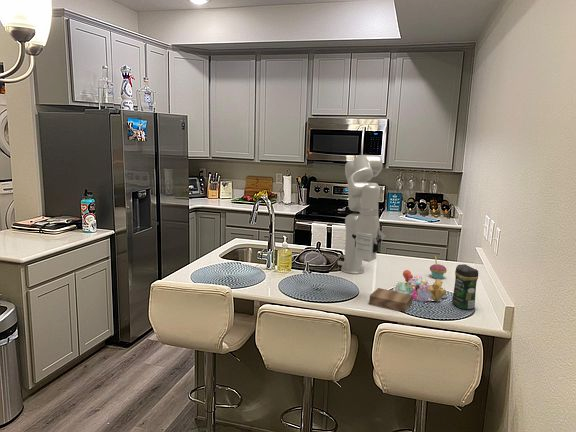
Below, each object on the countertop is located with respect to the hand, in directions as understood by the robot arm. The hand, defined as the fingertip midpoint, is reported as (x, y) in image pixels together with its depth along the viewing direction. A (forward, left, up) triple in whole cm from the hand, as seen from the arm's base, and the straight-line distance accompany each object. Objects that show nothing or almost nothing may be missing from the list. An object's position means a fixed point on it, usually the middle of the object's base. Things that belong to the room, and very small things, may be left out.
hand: (366, 250), depth 200 cm
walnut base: (+14, -2, -22) cm, 26 cm away
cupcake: (+24, +50, -22) cm, 60 cm away
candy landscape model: (+21, +20, -23) cm, 37 cm away
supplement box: (0, 0, -4) cm, 4 cm away
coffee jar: (+42, +14, -22) cm, 49 cm away
